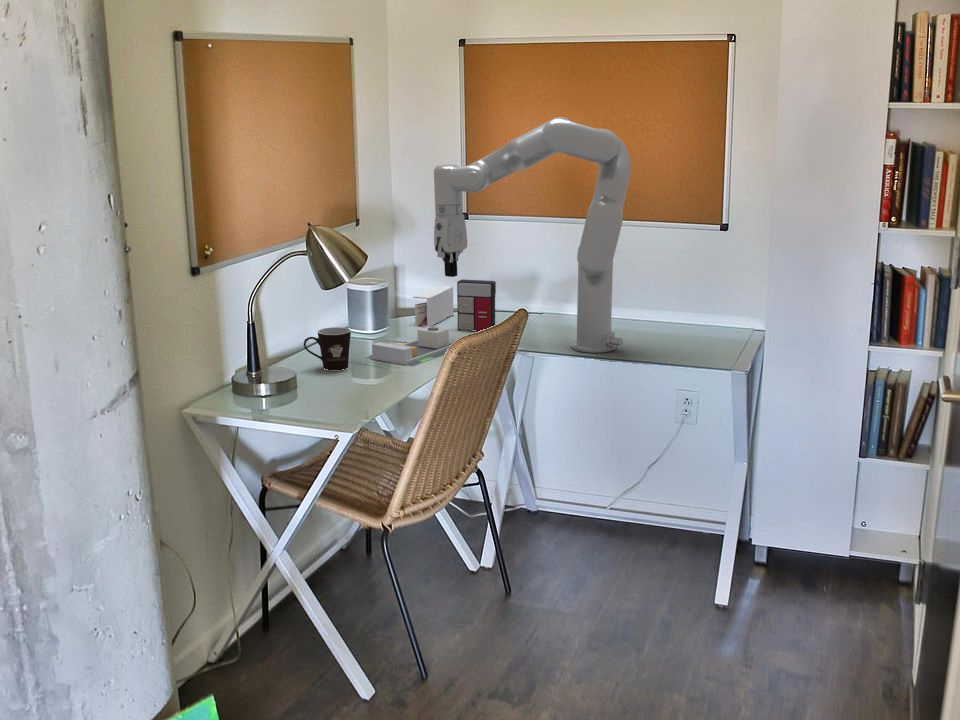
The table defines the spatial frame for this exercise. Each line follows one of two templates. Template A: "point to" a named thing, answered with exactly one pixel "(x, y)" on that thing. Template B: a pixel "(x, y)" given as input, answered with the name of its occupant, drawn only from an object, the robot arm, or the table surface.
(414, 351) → the orange rectangular block
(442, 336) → the block
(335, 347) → the coffee mug
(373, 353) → the board
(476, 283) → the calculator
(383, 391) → the table surface
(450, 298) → the cigarette display
